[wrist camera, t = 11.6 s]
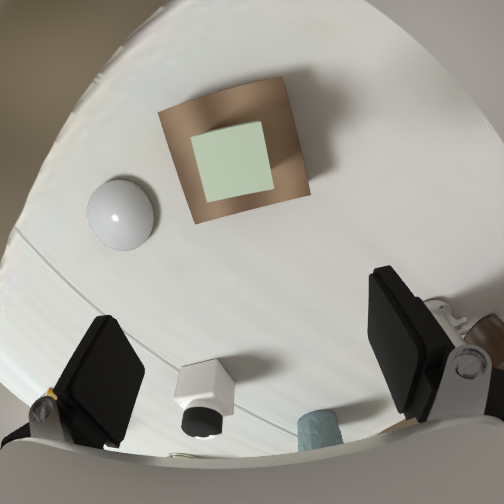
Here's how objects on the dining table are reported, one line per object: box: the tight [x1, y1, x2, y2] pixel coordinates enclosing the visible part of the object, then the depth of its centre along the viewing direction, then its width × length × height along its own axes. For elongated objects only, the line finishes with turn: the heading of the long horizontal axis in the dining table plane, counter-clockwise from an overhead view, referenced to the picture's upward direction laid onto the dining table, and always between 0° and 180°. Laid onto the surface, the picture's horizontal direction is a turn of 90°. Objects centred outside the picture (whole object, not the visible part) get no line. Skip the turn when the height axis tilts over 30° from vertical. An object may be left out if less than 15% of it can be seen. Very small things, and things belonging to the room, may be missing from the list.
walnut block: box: [158, 76, 311, 224], centre depth 28 cm, size 12×12×5 cm
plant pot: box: [464, 315, 504, 370], centre depth 38 cm, size 16×16×16 cm
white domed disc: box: [87, 179, 154, 251], centre depth 33 cm, size 9×9×2 cm
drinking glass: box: [298, 410, 344, 452], centre depth 49 cm, size 10×10×12 cm
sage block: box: [190, 120, 274, 203], centre depth 23 cm, size 5×5×7 cm
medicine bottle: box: [174, 359, 235, 439], centre depth 41 cm, size 7×7×12 cm
